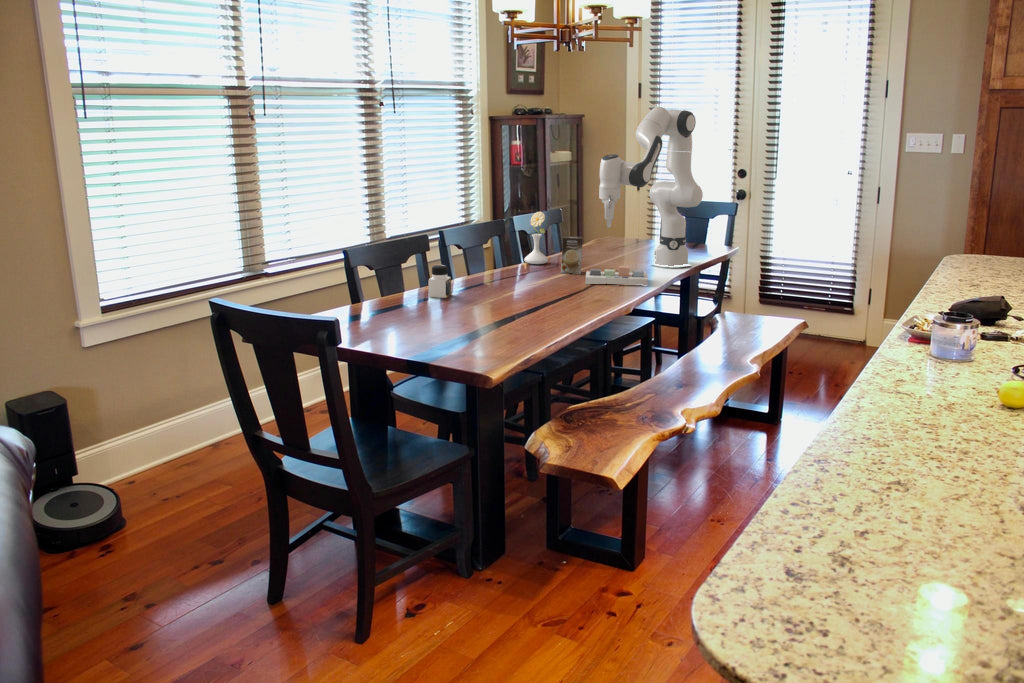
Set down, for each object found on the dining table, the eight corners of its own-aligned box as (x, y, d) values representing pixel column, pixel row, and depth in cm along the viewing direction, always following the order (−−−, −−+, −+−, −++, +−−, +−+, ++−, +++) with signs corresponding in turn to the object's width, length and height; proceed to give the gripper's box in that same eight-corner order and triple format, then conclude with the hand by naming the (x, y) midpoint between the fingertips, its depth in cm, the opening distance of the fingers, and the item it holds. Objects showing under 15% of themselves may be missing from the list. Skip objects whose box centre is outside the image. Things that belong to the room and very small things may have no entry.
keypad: (586, 277, 375) (586, 270, 374) (646, 279, 372) (646, 272, 371) (585, 284, 362) (585, 276, 361) (647, 286, 359) (648, 278, 358)
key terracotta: (618, 275, 368) (618, 265, 367) (628, 276, 368) (629, 266, 367) (618, 277, 364) (618, 267, 363) (628, 278, 364) (629, 267, 363)
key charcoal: (590, 278, 370) (590, 268, 369) (600, 279, 370) (600, 269, 368) (589, 280, 366) (590, 270, 365) (600, 281, 365) (600, 271, 364)
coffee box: (560, 273, 384) (561, 237, 379) (561, 271, 390) (562, 235, 385) (581, 274, 383) (582, 238, 378) (581, 271, 389) (582, 236, 385)
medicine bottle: (446, 298, 332) (445, 267, 329) (428, 297, 334) (428, 266, 331) (451, 294, 339) (450, 264, 336) (433, 293, 341) (433, 263, 337)
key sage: (604, 279, 369) (604, 269, 368) (614, 279, 369) (614, 269, 368) (604, 281, 365) (604, 271, 364) (614, 281, 365) (614, 271, 364)
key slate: (632, 280, 368) (632, 270, 367) (642, 280, 368) (643, 270, 367) (632, 282, 364) (633, 272, 363) (643, 282, 364) (643, 272, 362)
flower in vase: (520, 262, 409) (520, 209, 403) (541, 260, 414) (542, 208, 407) (532, 267, 398) (533, 212, 391) (553, 265, 403) (555, 211, 396)
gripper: (617, 197, 351) (616, 231, 355) (617, 191, 371) (616, 223, 375) (601, 197, 352) (601, 231, 356) (602, 191, 371) (601, 223, 375)
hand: (609, 227), depth 366 cm, fingers closed
